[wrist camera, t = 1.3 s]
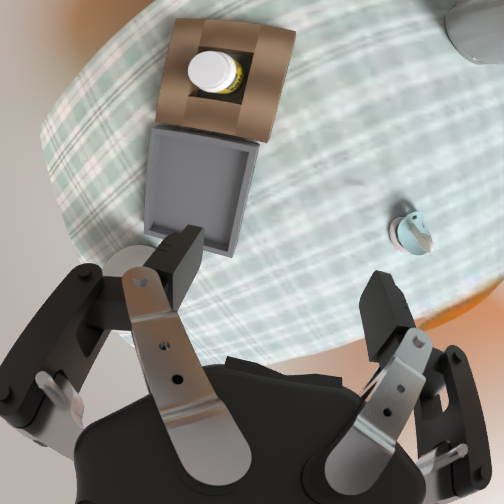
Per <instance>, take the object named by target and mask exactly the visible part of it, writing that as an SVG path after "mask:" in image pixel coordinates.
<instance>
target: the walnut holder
mask: <svg viewBox="0 0 504 504" xmlns="http://www.w3.org/2000/svg"><path fill="white" fill-rule="evenodd" d="M295 39H296V31H292V30H287V29H283V28H278V27H272V26H267V25H261V24H254V23H247V22H238V21H228V20H216V19H189V18H179V19H176V22H175V25H174V29H173V33H172V37H171V41H170V45H169V49H168V54H167V58H166V63H165V67H164V72H163V77H162V83H161V88H160V94H159V100H158V106H157V113H156V120H155V122H157V123H164V124H172V125H179V126H185V127H192V128H198V129H203V130H209V131H214V132H219V133H225V134H229V135H234V136H239V137H243V138H248V139H252V140H256V141H261V142H265V143H267V142H268V141H269V139H270V135H271V131H272V127H273V123H274V119H275V115H276V112H277V108H278V104H279V100H280V96H281V92H282V88H283V84H284V81H285V77H286V73H287V69H288V65H289V61H290V58H291V54H292V50H293V46H294V43H295ZM205 51H217V52H225V53H233V54H240V55H246V56H253V60H252V64H251V68H250V72H249V76H248V80H247V84H246V88H245V93H244V97H243V101H242V104H241V103H236V102H230V101H225V100H219V99H212V98H206V97H198V92H199V87H198V86H197V85H195V84H194V83H193V82H192V81H191V80H190V78H189V75H188V67H189V64H190V62H191V60H192V59H193V58H194V57H195V56H196V55H198V54H200V53H202V52H205Z"/></svg>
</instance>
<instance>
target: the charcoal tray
mask: <svg viewBox="0 0 504 504" xmlns="http://www.w3.org/2000/svg"><path fill="white" fill-rule="evenodd" d="M259 146H260V144H255V143H251V142H247V141H243V140H238V139H233V138H229V137H224V136H219V135H214V134H208V133H203V132H197V131H191V130H185V129H179V128H172V127H165V126H157V127H153V128H151V133H150V141H149V151H148V162H147V174H146V190H145V213H144V234H147V235H151V236H154V237H158V238H161V239H164V238H165V237H166V236H168V235H170V234H172V233H174V232H177V233H181V232H182V231H183V230H184V229H185V227H186V226H187V225H188V224H190V225H195V226H199V227H203V228H205V234H204V244H203V250H205V251H208V252H212V253H216V254H219V255H223V256H227V257H230V258H232V257H233V255H234V252H235V249H236V245H237V241H238V236H239V232H240V227H241V223H242V219H243V214H244V210H245V205H246V201H247V197H248V193H249V188H250V184H251V180H252V176H253V171H254V167H255V163H256V159H257V155H258V150H259Z"/></svg>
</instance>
